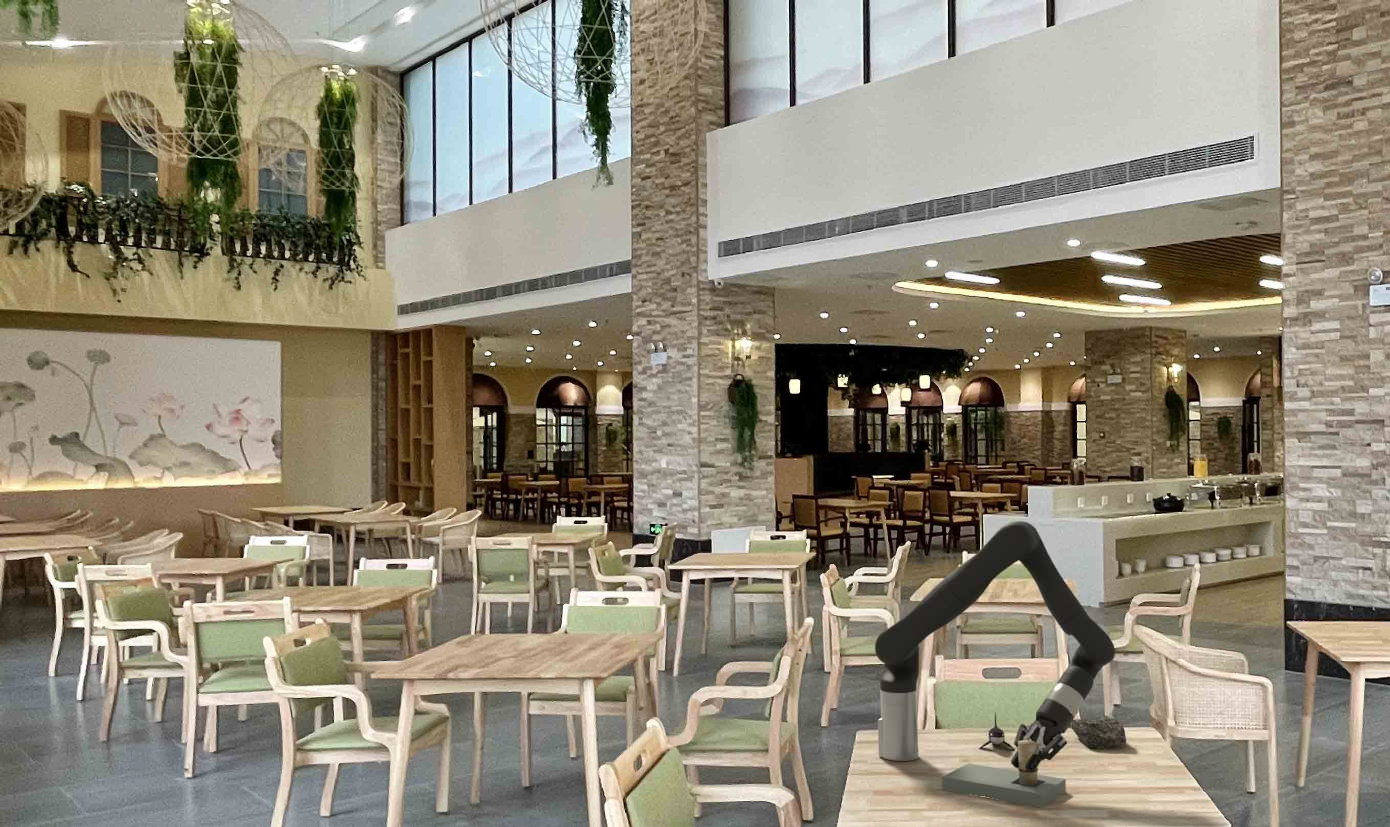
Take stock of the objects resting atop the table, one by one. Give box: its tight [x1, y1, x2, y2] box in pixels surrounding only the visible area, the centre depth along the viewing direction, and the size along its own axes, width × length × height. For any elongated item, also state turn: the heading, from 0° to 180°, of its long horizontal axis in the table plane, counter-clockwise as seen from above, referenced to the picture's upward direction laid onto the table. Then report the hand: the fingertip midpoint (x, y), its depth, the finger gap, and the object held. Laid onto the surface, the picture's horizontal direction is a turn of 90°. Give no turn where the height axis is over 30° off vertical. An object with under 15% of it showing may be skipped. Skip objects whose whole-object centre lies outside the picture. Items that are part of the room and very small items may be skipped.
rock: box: [1070, 714, 1127, 750], centre depth 315 cm, size 12×16×6 cm
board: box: [941, 762, 1067, 809], centre depth 274 cm, size 24×14×3 cm, turn 51°
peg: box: [1017, 739, 1039, 785], centre depth 270 cm, size 4×4×9 cm
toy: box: [979, 712, 1016, 751], centre depth 317 cm, size 21×10×10 cm, turn 168°
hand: (1021, 767), depth 269 cm, fingers closed on peg, 4 cm apart
